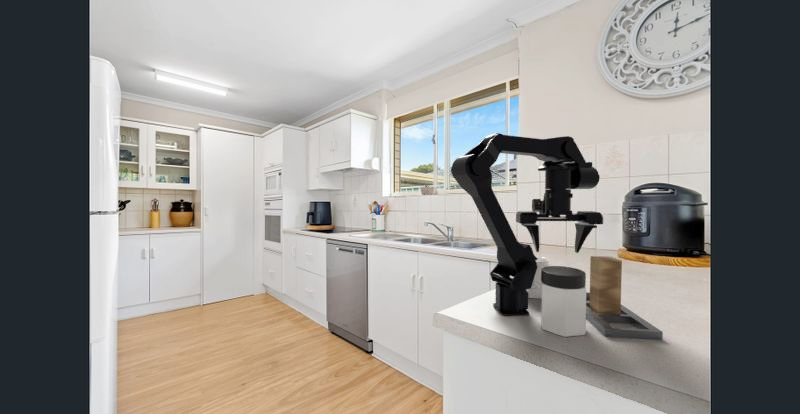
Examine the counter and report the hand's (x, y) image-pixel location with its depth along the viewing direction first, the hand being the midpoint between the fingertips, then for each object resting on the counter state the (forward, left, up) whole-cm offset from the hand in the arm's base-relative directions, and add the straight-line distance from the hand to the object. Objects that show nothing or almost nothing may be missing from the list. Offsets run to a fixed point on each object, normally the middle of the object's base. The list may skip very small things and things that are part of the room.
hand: (556, 252), depth 79 cm
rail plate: (+7, -8, -13) cm, 17 cm away
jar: (-6, -14, -13) cm, 20 cm away
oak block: (+7, -8, -13) cm, 17 cm away
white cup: (-3, +7, -13) cm, 15 cm away
